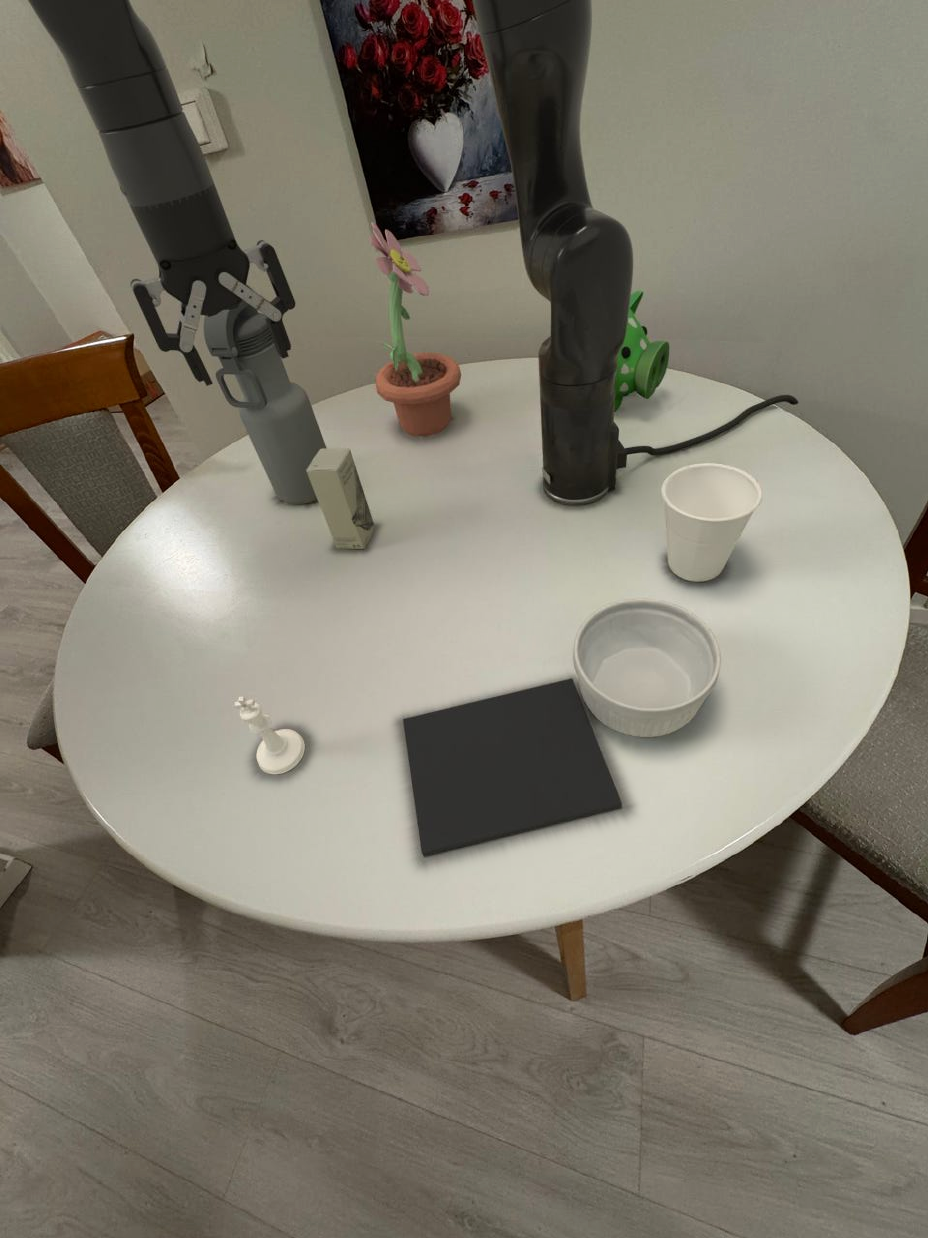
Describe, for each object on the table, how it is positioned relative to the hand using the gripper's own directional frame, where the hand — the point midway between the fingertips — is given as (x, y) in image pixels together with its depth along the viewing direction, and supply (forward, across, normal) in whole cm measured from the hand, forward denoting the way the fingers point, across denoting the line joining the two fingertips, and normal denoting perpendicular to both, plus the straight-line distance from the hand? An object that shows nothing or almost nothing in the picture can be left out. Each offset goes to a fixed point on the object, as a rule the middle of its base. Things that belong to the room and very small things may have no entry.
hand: (246, 368), depth 63 cm
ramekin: (+26, +20, -43) cm, 54 cm away
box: (+26, +5, -2) cm, 26 cm away
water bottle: (+26, +3, +15) cm, 30 cm away
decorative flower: (+26, +26, +18) cm, 40 cm away
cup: (+26, +36, -33) cm, 56 cm away
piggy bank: (+26, +52, +5) cm, 58 cm away
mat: (+25, +4, -42) cm, 50 cm away
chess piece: (+26, -15, -29) cm, 41 cm away
